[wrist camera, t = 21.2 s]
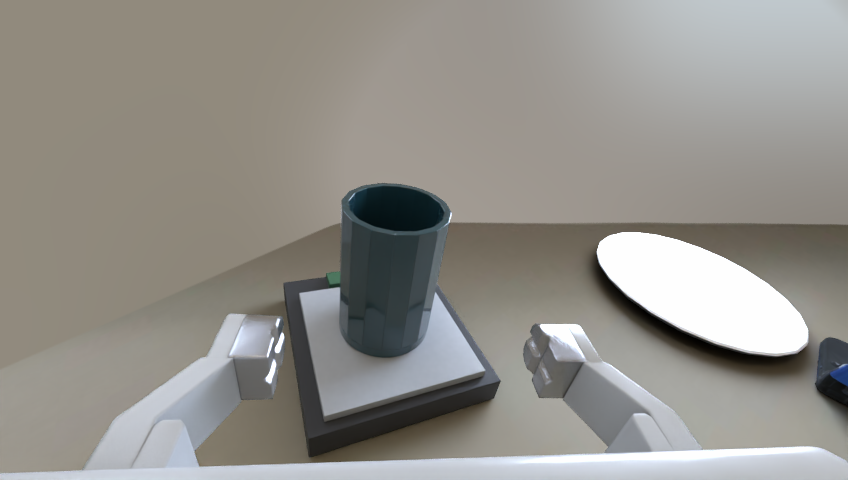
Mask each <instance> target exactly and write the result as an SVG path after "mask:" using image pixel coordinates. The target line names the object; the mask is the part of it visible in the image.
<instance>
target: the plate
mask: <svg viewBox="0 0 848 480" xmlns="http://www.w3.org/2000/svg"><path fill="white" fill-rule="evenodd" d="M596 253H597V257H598V261H599V265H600V267H601V268H602V270H603V271H604V273H605V274H606V276H607V277H608V279H609V280H610V281H611V282H612V283H613V284H614V285H615V286H616V287H617V288H618V289H619V290H620V291H621V292H622V293H623V294H624V295H625V296H626V297H627V298H628V299H630V300H631V301H632V302H634V303H635V304H637V305H638V306H639V307H641V308H642V309H643V310H645V311H646V312H648V313H649V314H650V315H652V316H654V317H656V318H657V319H659V320H661V321H663V322H665V323H666V324H668V325H670V326H672V327H673V328H675V329H677V330H679V331H681V332H683V333H685V334H688V335H690V336H693V337H695V338H697V339H700V340H702V341H704V342H707V343H709V344H712V345H714V346H718V347H722V348H725V349H729V350H732V351H736V352H739V353H743V354H748V355H757V356H766V357H775V358H776V357H782V356H788V355H795V354H797V353H798V352H799V351H800V350H802V349H803V348H804V347H805V346H807V345H808V337H809V331H808V329H807V327H806V325H805V323H804V321H803V319H802V317H801V315H800V314H799V313H798V311H797V310H796V309H795V308H794V307H793V306H792V305H791V304H790V303H789V301H788V300H787V299H786V298H784V297H783V296H782V295H781V294H780V293H778V292H777V291H776V290H775V289H773V288H772V287H771V286H770V285H768V284H767V283H766V282H764V281H763V280H761V279H759V278H758V277H756V276H755V275H753V274H752V273H750V272H749V271H747V270H745V269H744V268H742V267H740V266H738V265H736V264H734V263H732V262H730V261H728V260H727V259H725V258H723V257H720V256H718V255H716V254H713V253H711V252H709V251H706V250H704V249H702V248H699V247H696V246H693V245H690V244H688V243H685V242H682V241H679V240H675V239H671V238H667V237H663V236H659V235H653V234H645V233H620V234H616V235H611V236H608V237H607V238H605V239H604V240H603V241H601V242H600V244H599V247H598V250H597V252H596Z"/></svg>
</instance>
